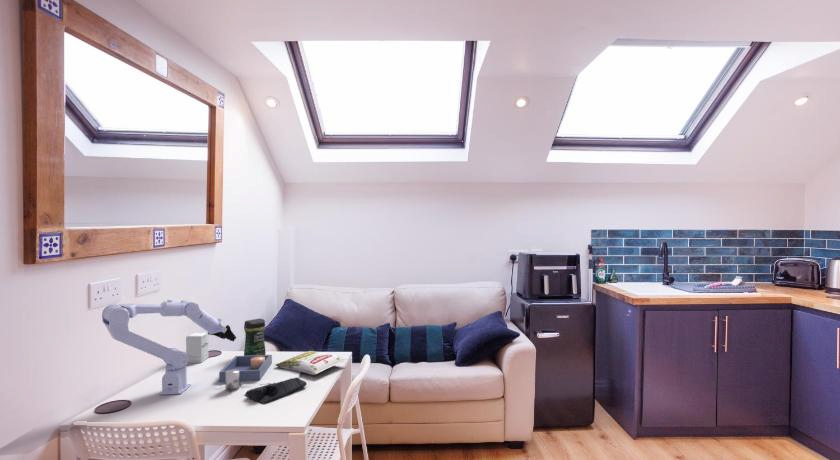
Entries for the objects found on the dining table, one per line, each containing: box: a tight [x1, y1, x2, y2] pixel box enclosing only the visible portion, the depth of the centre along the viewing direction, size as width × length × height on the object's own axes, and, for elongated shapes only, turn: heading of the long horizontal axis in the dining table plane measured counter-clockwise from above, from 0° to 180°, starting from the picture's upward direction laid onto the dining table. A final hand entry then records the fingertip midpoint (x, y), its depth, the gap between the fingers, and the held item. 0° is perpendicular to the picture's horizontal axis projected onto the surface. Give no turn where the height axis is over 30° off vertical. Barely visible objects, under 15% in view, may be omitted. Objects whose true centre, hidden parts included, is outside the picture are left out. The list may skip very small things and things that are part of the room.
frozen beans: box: [275, 350, 348, 376], centre depth 205 cm, size 21×6×25 cm
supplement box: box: [185, 332, 209, 364], centre depth 217 cm, size 7×7×13 cm
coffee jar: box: [243, 318, 267, 356], centre depth 221 cm, size 10×8×19 cm
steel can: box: [225, 369, 241, 392], centre depth 180 cm, size 5×5×7 cm
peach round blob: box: [251, 356, 265, 370], centre depth 203 cm, size 6×6×4 cm
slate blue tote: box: [218, 354, 273, 383], centre depth 197 cm, size 22×16×5 cm
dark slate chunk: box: [244, 377, 307, 405], centre depth 177 cm, size 15×22×5 cm
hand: (230, 338), depth 196 cm, fingers open, 7 cm apart
